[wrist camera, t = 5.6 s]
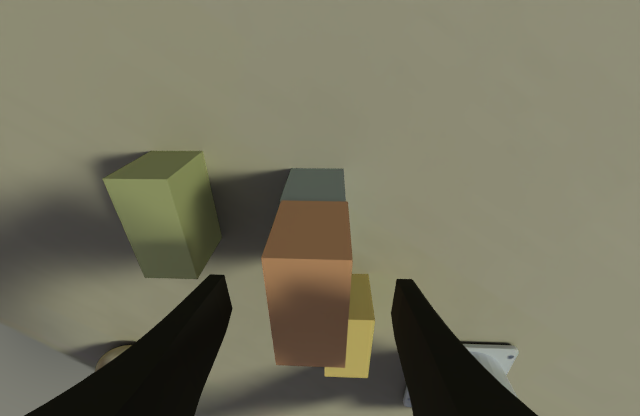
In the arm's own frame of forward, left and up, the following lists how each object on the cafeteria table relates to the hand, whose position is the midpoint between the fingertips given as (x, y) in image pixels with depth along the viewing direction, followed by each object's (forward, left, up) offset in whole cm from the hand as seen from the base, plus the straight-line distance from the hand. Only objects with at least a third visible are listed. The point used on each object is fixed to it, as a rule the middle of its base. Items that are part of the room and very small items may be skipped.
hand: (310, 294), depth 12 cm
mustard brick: (-8, -2, -7) cm, 11 cm away
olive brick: (+1, +8, -7) cm, 11 cm away
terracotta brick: (0, 0, -3) cm, 3 cm away
